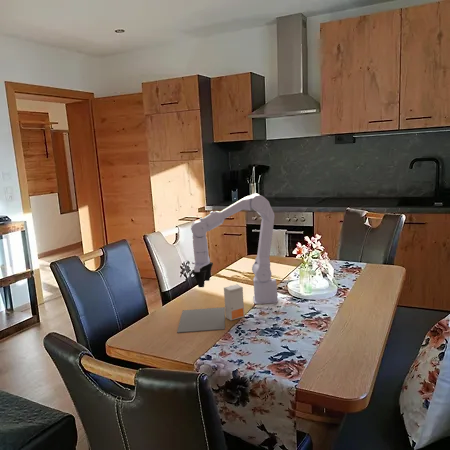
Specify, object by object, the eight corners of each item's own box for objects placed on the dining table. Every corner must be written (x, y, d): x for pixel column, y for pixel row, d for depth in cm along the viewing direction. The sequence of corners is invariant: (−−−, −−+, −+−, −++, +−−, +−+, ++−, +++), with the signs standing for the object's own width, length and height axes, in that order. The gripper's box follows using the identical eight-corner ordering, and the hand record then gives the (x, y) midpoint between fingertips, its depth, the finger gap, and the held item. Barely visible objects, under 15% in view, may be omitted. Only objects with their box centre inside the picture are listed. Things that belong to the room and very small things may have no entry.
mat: (224, 307, 168) (224, 307, 168) (224, 329, 148) (224, 328, 148) (182, 311, 168) (182, 310, 168) (177, 332, 148) (177, 332, 148)
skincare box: (231, 321, 155) (228, 290, 152) (225, 317, 158) (223, 287, 156) (245, 317, 157) (242, 286, 155) (239, 313, 161) (237, 283, 159)
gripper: (197, 246, 174) (200, 277, 176) (185, 256, 160) (188, 289, 162) (213, 246, 172) (216, 277, 174) (202, 255, 158) (206, 290, 161)
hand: (204, 283), depth 168 cm, fingers open, 7 cm apart
